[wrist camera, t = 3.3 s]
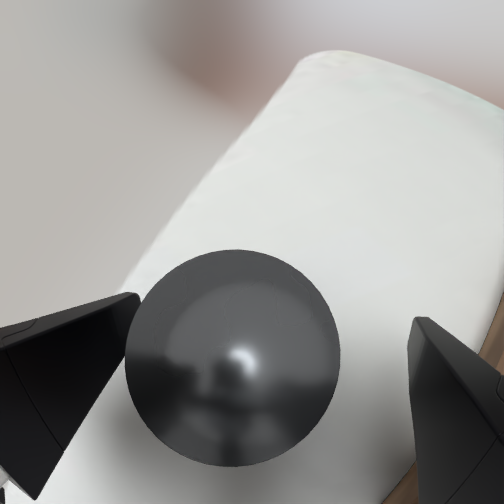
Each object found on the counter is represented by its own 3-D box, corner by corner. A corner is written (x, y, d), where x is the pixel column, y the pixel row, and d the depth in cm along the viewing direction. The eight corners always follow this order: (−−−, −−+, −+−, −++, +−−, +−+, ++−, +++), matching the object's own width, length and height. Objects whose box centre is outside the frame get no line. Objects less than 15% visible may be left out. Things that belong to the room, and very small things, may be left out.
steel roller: (287, 439, 13) (221, 507, 4) (225, 380, 15) (93, 350, 6) (349, 375, 14) (389, 343, 5) (285, 320, 16) (226, 213, 7)
